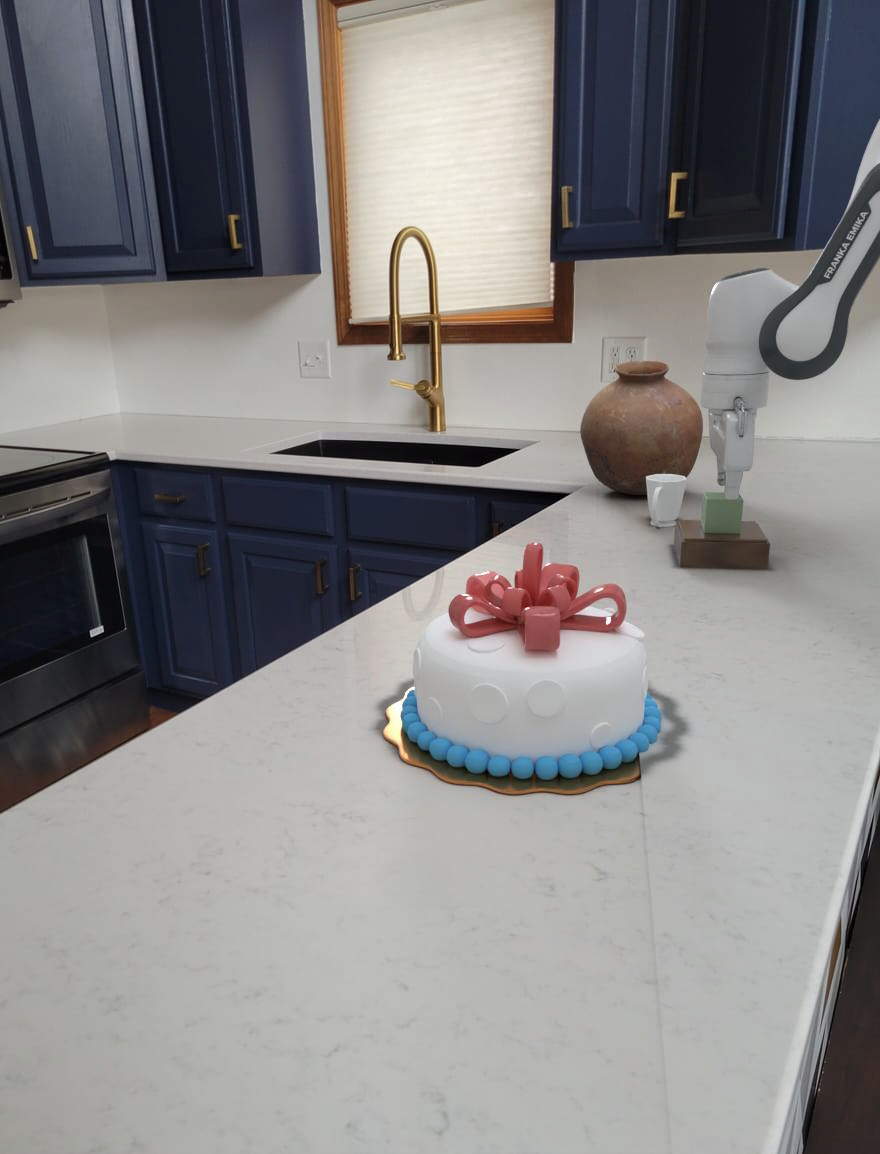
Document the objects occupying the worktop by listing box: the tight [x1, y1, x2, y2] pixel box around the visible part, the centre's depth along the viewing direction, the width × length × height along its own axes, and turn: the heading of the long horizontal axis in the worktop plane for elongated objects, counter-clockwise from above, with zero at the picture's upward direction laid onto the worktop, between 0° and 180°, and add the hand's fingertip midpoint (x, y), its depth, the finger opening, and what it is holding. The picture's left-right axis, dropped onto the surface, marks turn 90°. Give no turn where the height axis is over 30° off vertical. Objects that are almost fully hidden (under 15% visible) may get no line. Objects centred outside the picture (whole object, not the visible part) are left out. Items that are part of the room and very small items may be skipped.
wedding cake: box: [382, 541, 663, 795], centre depth 89 cm, size 28×28×18 cm
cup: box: [646, 474, 688, 528], centre depth 162 cm, size 7×10×8 cm
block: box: [700, 491, 744, 534], centre depth 140 cm, size 5×5×5 cm
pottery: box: [579, 360, 704, 496], centre depth 185 cm, size 23×23×25 cm
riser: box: [672, 519, 771, 570], centre depth 141 cm, size 12×12×5 cm
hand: (727, 491), depth 139 cm, fingers open, 8 cm apart
